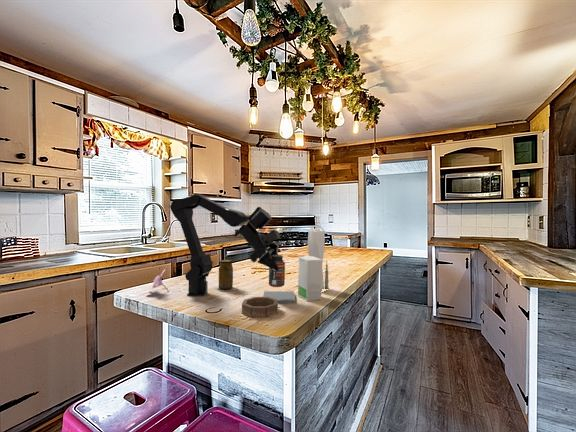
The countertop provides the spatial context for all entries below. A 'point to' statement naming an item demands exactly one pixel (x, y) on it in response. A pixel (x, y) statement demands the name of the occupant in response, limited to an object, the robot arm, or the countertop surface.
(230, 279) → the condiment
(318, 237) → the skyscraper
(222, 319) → the countertop surface
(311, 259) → the skincare box
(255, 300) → the collar ring
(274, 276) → the supplement bottle
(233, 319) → the countertop surface
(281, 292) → the pad
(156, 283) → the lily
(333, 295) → the countertop surface
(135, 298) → the countertop surface
